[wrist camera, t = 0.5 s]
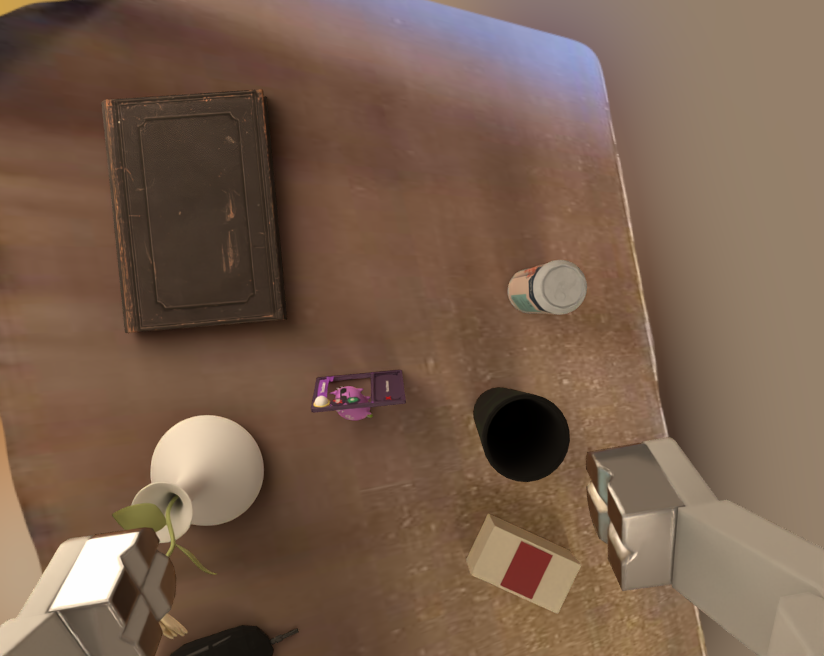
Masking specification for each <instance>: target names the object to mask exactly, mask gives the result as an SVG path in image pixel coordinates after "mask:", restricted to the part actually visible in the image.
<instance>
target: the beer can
mask: <svg viewBox="0 0 824 656" xmlns="http://www.w3.org/2000/svg"><path fill="white" fill-rule="evenodd" d="M586 291H587V283H586V278H585V276H584V274H583V272H582V271H581V270H580V268H579V267H578V266H576V265H575V264H573V263H571V262H569V261H565V260H555V261H551V262H549V263H546V264H542V265H539V266H535V267H532V268H527V269H523V270H521V271H519V272H517V273H516V274H515V275H514V276H513V277H512V279H511V280H510V282H509V285H508V297H509V300H510V302H511V303H512V305H513V306H514V307H515V308H516V309H517V310H519V311H521V312H524V313H531V314H558V315H561V314H567V313H570V312H572V311H574V310H575V309H576V308H578V307H579V306H580V305H581V303H582V302H583V300H584V298H585V296H586Z"/></svg>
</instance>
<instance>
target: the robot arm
mask: <svg viewBox="0 0 824 656" xmlns="http://www.w3.org/2000/svg"><path fill="white" fill-rule="evenodd" d="M586 470H587V472H588V474H589V476H590V478H591V481H590V483H589V484H588V485H587V501H588V506H589V511H590V516H591V519H592V522H593V525H594V528H595V530H596V533H597V535H598V537H599V539H601V540H602V541H604V542H605V543H607V544H608V560H609V562H610V565H611V567H612V569H613V571H614V573H615V576H616V578H617V580H618V582H619V585H620V587H621V589H622V591H626V590H633V589H640V588H648V587H655V586H663V585H670V584H672V587H673V588H674V589H675V590H677V591H678V592H679V593H680V594H682V595H683V596H684V597H685V598H687V599H688V600H689V601H690V602H692V603H693V604H694V605H695V606H697V607H698V608H699V609H700V610H702V611H703V612H704V613H705V614H707V615H708V616H709V617H711V618H712V619H713V620H714V621H715V622H717V623H718V624H719V625H720V626H722V627H723V628H724V629H725V630H727V631H728V632H729V633H730V634H731V635H733V636H734V637H735V638H736V639H738V640H739V641H740V642H741V643H743V644H744V645H745V646H746V647H748V648H749V649H750V650H751V651H753V652H754V653H755V654H756V655H758V656H824V548H822V547H820V546H818V545H816V544H814V543H812V542H810V541H808V540H806V539H804V538H802V537H800V536H798V535H796V534H794V533H792V532H791V531H788V530H787V529H784V528H782V527H781V526H779V525H777V524H775V523H773V522H771V521H769V520H767V519H765V518H763V517H761V516H759V515H757V514H755V513H753V512H751V511H749V510H747V509H745V508H743V507H741V506H739V505H737V504H735V503H733V502H731V501H729V500H723V501H719V500H718V499H717V497H716V496H715V494H714V493H713V492H712V490H711V489H710V488H709V486H708V485H707V484H706V482H705V481H704V479H703V478H702V477H701V475H700V474H699V473H698V471H697V470H696V469H695V467H694V466H693V464H692V463H691V462H690V460H689V459H688V458H687V456H686V455H685V453H684V452H683V451H682V450H681V448H680V447H679V445H678V444H677V443H676V441H675V440H674V439H672V438H670V437H666V438H660V439H655V440H650V441H644V442H642V443H635V444H629V445H623V446H618V447H612V448H607V449H601V450H595V451H590V452H587V455H586ZM159 542H160V539H159V538H158V536H157V534H156V533H155V531H154V529H153V528H148V527H143V528H136V529H129V530H122V531H115V532H108V533H101V534H95V535H92V536H85V537H78V538H70V539H68V540H66V541H65V542H64V543H62V544H61V545H60V546H59V548H58V550H57V551H56V553H55V555H54V556H53V558H52V560H51V561H50V563H49V565H48V566H47V568H46V570H45V571H44V573H43V575H42V576H41V578H40V580H39V581H38V583H37V585H36V586H35V588H34V590H33V591H32V593H31V595H30V596H29V598H28V600H27V601H26V603H25V605H24V606H23V608H22V610H21V611H20V613H19V615H18V617H17V618H14V619H9V620H7V621H6V622H5V623H3V624H2V625H1V626H0V656H155V654H156V651H157V649H158V646H159V643H160V640H161V637H162V634H163V631H162V628H161V626H160V624H159V621H160V620H161V619H162V618H163V617H164V616H165V615H166V614H167V613H168V612H169V611H170V610H171V608H172V604H173V601H174V598H175V595H176V574H175V569H174V566H173V564H172V562H171V560H170V558H169V557H168V556H166V555H165V554H163V553H161V552H159V551H158V550H157V547H158V545H159Z"/></svg>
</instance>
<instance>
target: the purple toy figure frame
mask: <svg viewBox="0 0 824 656" xmlns="http://www.w3.org/2000/svg"><path fill="white" fill-rule="evenodd" d="M369 377H371V402H368V399H370V397H369V396H367V397H364V396H363V395H362V394H361V391H362V390H363V388H361V389H356V388H354V387H352V386H346V387H341V389H339V388H337V389H338V391H337V390H335V392H331V393H330V394H335V395H336V397H335V399H333V400H332V401H331V402H330V401H329V400H328V399H327V388H328V382H332V381H336V380H347V379H358V378H369ZM329 403H330V406H327V405H329ZM405 403H406V399H405V391H404V383H403V376H402V370H393V371H382V372H371V373H360V374H350V375H339V376H327V377H318V378H316V384H315V389H314V395H313V400H312V406H311V411H312V412H323V411H334V410H336V411H337V412H338V414H339V415H340V416H342V417H343V418H345V419H348V420H361V419H363V418H365V417H366V416H367V417H368V416H369V418H370V417H372V416H373V415H372V413H371V412H370V407H376V406H386V405H397V404H405ZM332 405H333V406H332Z"/></svg>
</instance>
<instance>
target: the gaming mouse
mask: <svg viewBox="0 0 824 656" xmlns="http://www.w3.org/2000/svg"><path fill="white" fill-rule="evenodd" d="M297 632H298V629H295V630H293V631H290V632H288V633H286V634H284V635H279V636H276V637H275V638H273V639H271V640H269V637H268V636H267V635H266V634H265V633H264V632H262V631H261V630H260V629H259V628H258V627H257V626H245V625H242V626H238V627H235V628H231V629H228V630H225V631H222V632H219V633H217V634H214V635H211V636H208V637H205V638H201V639H198V640H195V641H193V642H190V643H187V644H185V645H183V646H182V647H180V648H179V649H178V650H176V651H175V652H173V653H172V654H171V655H170V656H272V655H273V647H272V645H273V644H275V643H276V642H277V643H278V642H280V641H282V640H283V639H284V638H286V637H288V636H291V635H293V634H295V633H297ZM271 644H272V645H271Z"/></svg>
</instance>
